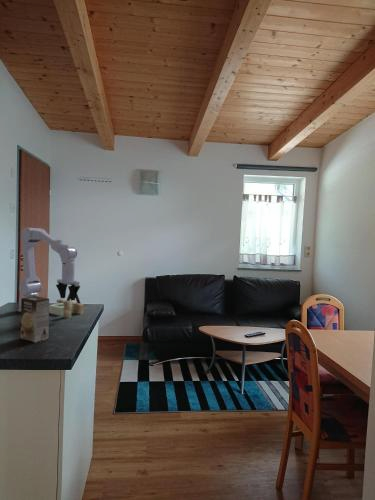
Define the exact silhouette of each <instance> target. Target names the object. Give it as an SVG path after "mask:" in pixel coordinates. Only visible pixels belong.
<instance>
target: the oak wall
mask: <svg viewBox="0 0 375 500" xmlns="http://www.w3.org/2000/svg"><path fill="white" fill-rule="evenodd" d="M66 300H67V299H66ZM66 300H65V299H64V300H63V299H61V298H60V299H56V304H58V303H64V301H66ZM80 303H81V302H80ZM80 303H77V302H76V301H75V302H74V301H72V305H74V313H73V314H78V315H83V314H85V304H84V303H81V304H80Z"/></svg>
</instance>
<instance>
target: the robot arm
mask: <svg viewBox="0 0 375 500" xmlns="http://www.w3.org/2000/svg"><path fill="white" fill-rule="evenodd" d="M20 234H21V236H20V237H21V249H22V251H21V252H22V261H23V263H22V264H23V273H24V277H22V278H21V280H20V281H19V288H18V289H19V293H20V294H21V295H20V297H19V301H18V303H19V307H18V309H17V312H20V313H21V298H26V297H32V296H38V297H39V295H40V292H41V291H42V290H43V285H42V283H41V278H40V277H38V276H37V273H36V260H35V259H36V258H35V248H34V246H36V244H38V243H40V242H41V241H44V242H45V243H46V244H47V245H50V248H51V249H52V250H53V251H54V252H56V253H57V254H59V257H60V260H61V264H62V265H61V278H58V279H56V283H57V284H56V285H55V286H56V289H57V290H58V293H59V296H60V299H61V300H63V299H66V295H67V293H66V292H67V289H68V291H69V292H70V301H72V302H73V301H76V294H77V295H78V292H79V290H80V288H81V285H80V281H78V280H77V281H76V280H75V262H76V261H75V260H76V258H77V256H78V250H77V248H75V247H74V246H69V244H66V243H65V242H63V240H62V239H55V238H54V237H53V236H51V235H50V234H49V233H48V232H47V231H46V230H45V229H44V228H42V227H41V228H40V227H37V228H36V227H24V228H23V229H22V231H21V232H20ZM71 285H72V286H71Z"/></svg>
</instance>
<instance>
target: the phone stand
mask: <svg viewBox="0 0 375 500" xmlns="http://www.w3.org/2000/svg"><path fill="white" fill-rule="evenodd" d="M70 286H72V285H70ZM66 301H71V299H70V291H69V293H68V295H67V297H66ZM75 302H76V303H80V304H82V303H81V301H80V298H79V295H78V293H77V294H76V298H75Z"/></svg>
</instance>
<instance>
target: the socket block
mask: <svg viewBox="0 0 375 500" xmlns="http://www.w3.org/2000/svg"><path fill="white" fill-rule="evenodd" d="M49 314H52V315H55V316H60V317H61V316H64V303H58V304H57V303H54V304H49ZM71 314H75V313H74V305H72V310H71Z"/></svg>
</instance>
